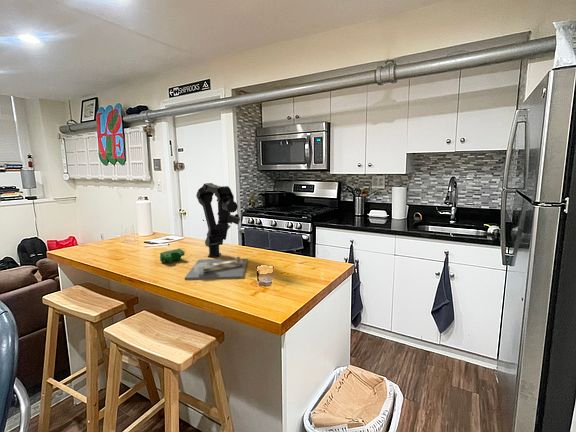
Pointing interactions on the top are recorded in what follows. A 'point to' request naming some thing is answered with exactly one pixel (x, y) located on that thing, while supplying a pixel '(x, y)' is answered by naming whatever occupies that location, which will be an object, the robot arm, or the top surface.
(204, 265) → the block
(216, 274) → the board
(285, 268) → the top surface
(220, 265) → the link
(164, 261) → the clamp
